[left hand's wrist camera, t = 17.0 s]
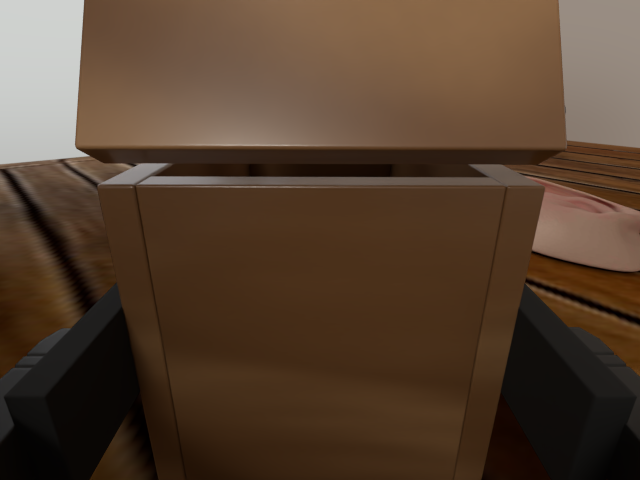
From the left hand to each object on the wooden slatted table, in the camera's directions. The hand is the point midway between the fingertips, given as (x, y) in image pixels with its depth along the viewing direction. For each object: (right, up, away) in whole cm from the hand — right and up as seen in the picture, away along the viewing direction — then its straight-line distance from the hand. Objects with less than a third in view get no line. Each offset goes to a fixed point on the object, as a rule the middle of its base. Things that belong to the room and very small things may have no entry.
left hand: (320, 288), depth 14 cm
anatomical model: (+22, +2, +22) cm, 31 cm away
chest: (0, -4, +7) cm, 8 cm away
